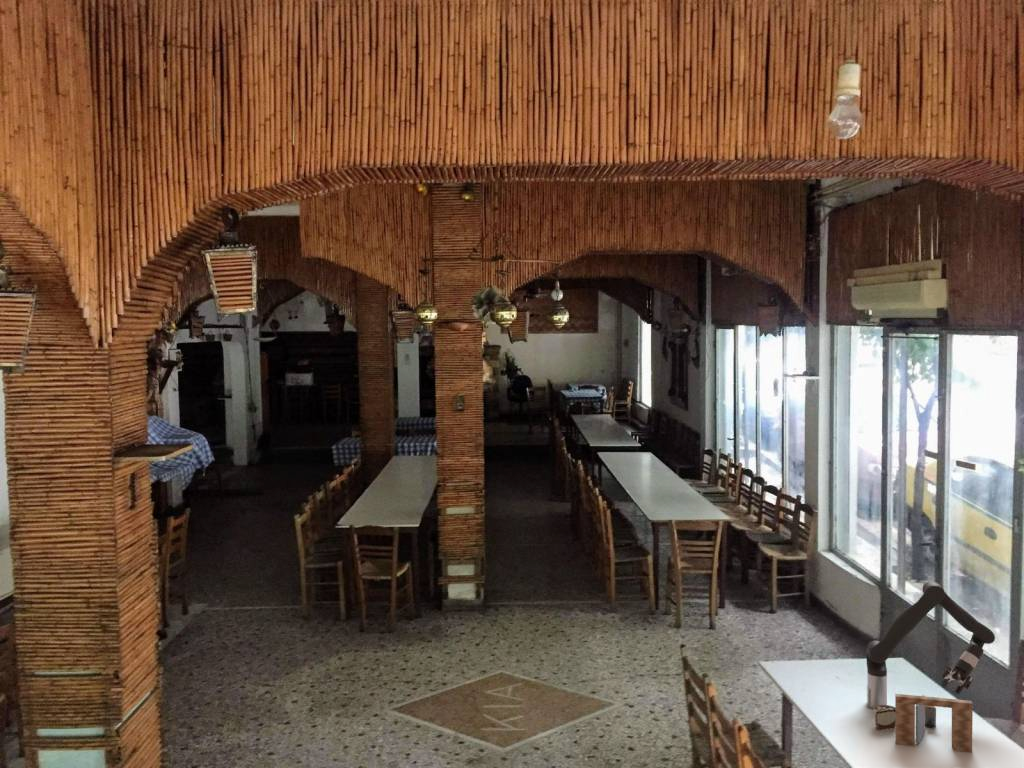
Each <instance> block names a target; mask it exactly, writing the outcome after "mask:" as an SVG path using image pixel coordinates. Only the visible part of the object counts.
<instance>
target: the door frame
mask: <svg viewBox="0 0 1024 768" xmlns="http://www.w3.org/2000/svg"><path fill="white" fill-rule="evenodd" d="M894 703H895V706H894V707H895V731H894V734H895V736H894V737H895V738H894V741H895V745H902V746H908V747H909V746H911V747H916V746H915V745H916V705H926V706H934V707H940V708H951V749H952V751H956V752H965V753H966V752H967V753H973V708H974V707H973V705H974V704H973V701H972V700H966V699H965V700H964V699H957V698H956V699H954V698H946V697H945V698H944V697H934V696H926V695H924V696H922V695H914V694H913V695H912V694H901V693H895V702H894Z"/></svg>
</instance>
